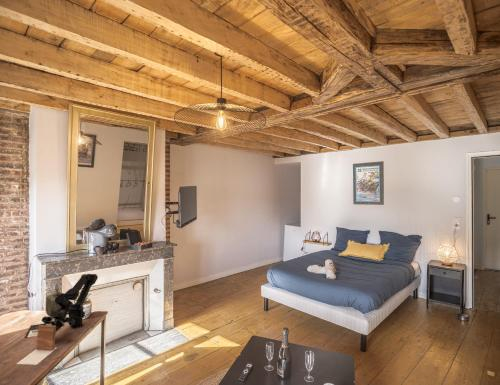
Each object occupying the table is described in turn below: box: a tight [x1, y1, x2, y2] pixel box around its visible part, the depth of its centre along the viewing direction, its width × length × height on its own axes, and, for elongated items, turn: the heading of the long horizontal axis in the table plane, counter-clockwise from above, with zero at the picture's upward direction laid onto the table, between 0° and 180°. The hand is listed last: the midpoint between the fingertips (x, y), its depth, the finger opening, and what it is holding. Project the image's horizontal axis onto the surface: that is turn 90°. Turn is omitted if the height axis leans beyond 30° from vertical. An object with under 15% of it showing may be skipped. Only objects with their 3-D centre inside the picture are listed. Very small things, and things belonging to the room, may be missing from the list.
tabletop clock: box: [45, 284, 62, 319], centre depth 209 cm, size 14×9×25 cm, turn 49°
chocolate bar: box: [24, 322, 47, 339], centre depth 191 cm, size 9×1×18 cm
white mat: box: [16, 347, 57, 366], centre depth 163 cm, size 17×11×1 cm, turn 1°
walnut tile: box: [36, 324, 56, 351], centre depth 170 cm, size 2×10×14 cm, turn 91°
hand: (51, 334), depth 175 cm, fingers closed
